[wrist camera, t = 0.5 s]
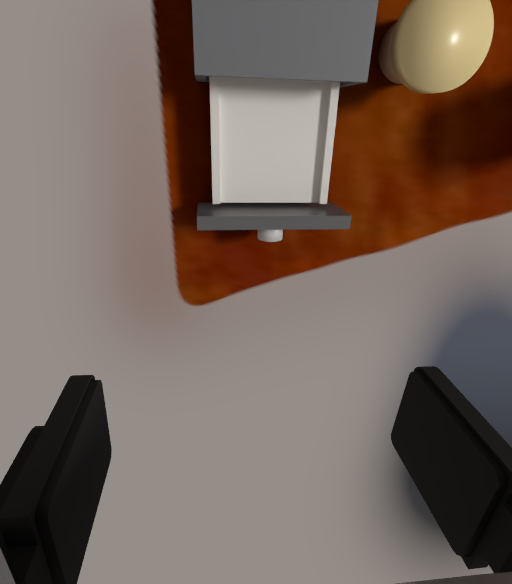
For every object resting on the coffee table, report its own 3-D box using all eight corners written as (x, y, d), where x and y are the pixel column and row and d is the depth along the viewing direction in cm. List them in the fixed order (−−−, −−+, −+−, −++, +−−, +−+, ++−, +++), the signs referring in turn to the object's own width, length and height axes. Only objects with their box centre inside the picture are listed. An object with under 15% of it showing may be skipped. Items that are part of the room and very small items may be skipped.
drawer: (191, 40, 30) (188, 25, 25) (350, 49, 31) (376, 36, 27) (198, 230, 37) (198, 248, 32) (329, 229, 38) (347, 245, 34)
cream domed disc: (466, -36, 26) (483, -45, 25) (485, 64, 30) (501, 61, 28) (378, 18, 27) (389, 12, 26) (406, 110, 30) (417, 110, 29)
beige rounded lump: (424, 4, 31) (456, -12, 27) (438, 65, 33) (471, 58, 29) (370, 37, 32) (395, 25, 28) (388, 95, 34) (413, 92, 30)
